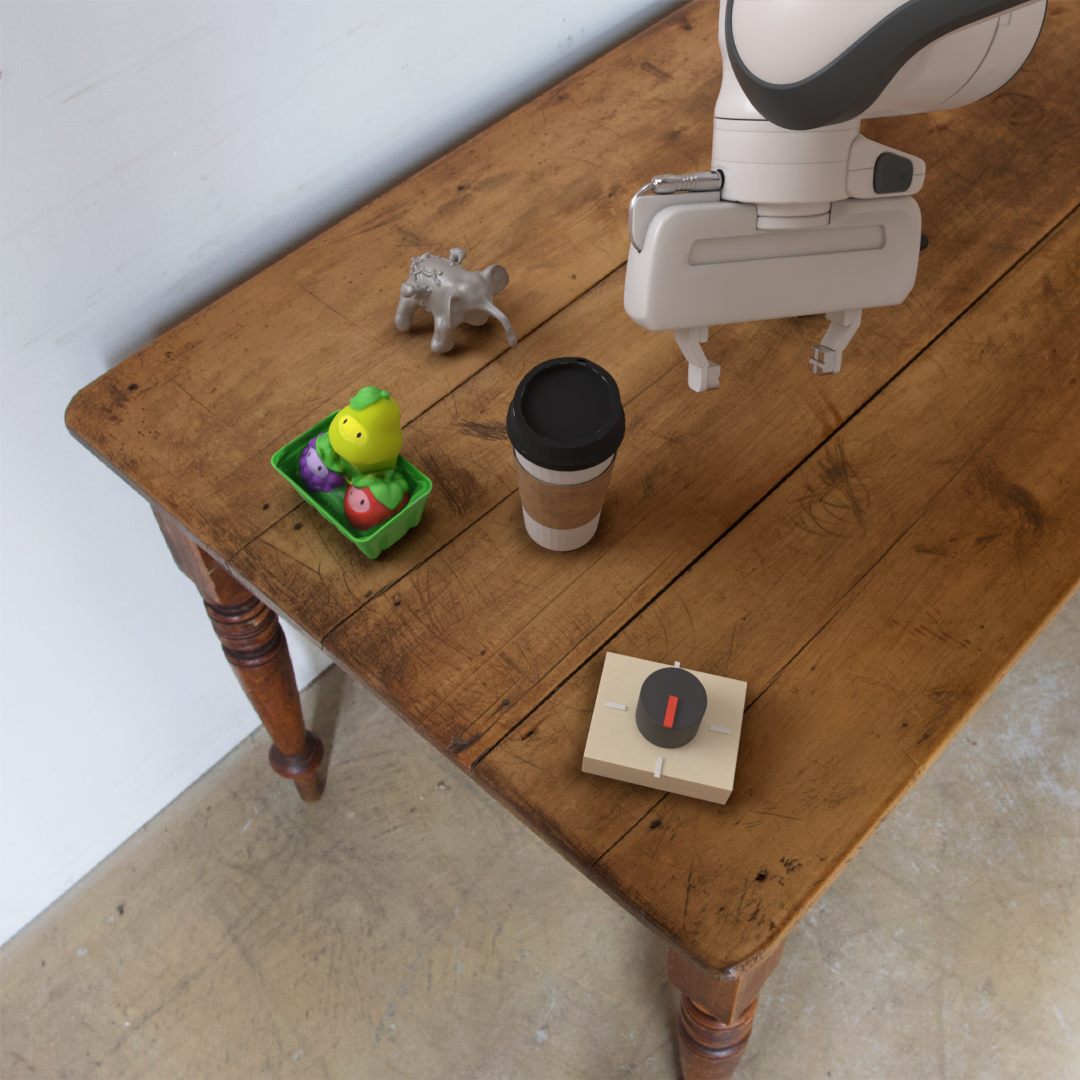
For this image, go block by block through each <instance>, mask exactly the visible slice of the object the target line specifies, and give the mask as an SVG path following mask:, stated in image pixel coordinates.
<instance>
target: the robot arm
mask: <svg viewBox="0 0 1080 1080" xmlns="http://www.w3.org/2000/svg"><path fill="white" fill-rule="evenodd" d="M1048 5H1049V0H719V12H718V30H717V31H718V33H717V40H718V46H719V50H720V55H721V61H722V64H721V65H722V77H721V85H720V90H719V92H718V96H717V99H716V103H715V105H714V111H713V122H712V123H713V124H712V125H713V126H712V143H711V145H712V146H711V161H710V162H711V163H710V170H708V171H696V172H689V173H685V174H674V173H662V174H657V175H655V176H652V177H651V180H650V182H648V183H645V184H643V185H642V186H641V187H640V188H639V189H638V190H636V192H635V193H634V195H633V197H632V198H631V199H630V202H629V206H628V236H629V239H630V246H629V251H628V257H627V262H626V269H625V270H626V272H625V277H624V279H625V280H624V292H623V309H624V312H625V313H626V314H627V316H628V317H629V318H630V319H631V321H633V323H635V324H636V325H638V326H639V327H641V328H643V329H645V330H647V331H650V332H653V333H660V332H666V331H668V332H671V331H673V338H674V341H675V342H676V343H677V345H678V347H679V349H680V351H681V352H682V354H683V356H684V358H685V360H686V362H688V371H687V372H688V373H687V374H688V375H687V384H688V387H689V389H691V391H694V392H696V393H705V392H709V391H716V390H719V388H720V380H719V378H720V377H721V369H722V368H721V367H722V366H721V365H720V364H718V363H716V362H713V360H710V359H709V358H707V357H706V355H705V352H704V350H703V348H702V346H701V344H703V343H704V344H705V343H707V342H708V341H709V330H710V329H709V328H710V327H712V326H723V325H731V324H740V323H749V322H757V321H767V320H768V321H769V320H775V319H786V318H792V317H797V316H800V317H803V316H810V315H812V316H813V315H820V314H825V319H826V320H828V321H830V324H829V326H828V327H827V330H826V331H825V334H824V335H823V337H822V339H821V340H820V343H819V344H817V345H810V346H809V354H808V356H809V358H810V359H809V360H808V364H807V368H808V371H809V372H810V373H811V374H814V375H816V376H817V377H822V376H831V375H837V374H839V373H840V371H841V367H842V359H843V351H844V350H845V349H847V346H848V345H849V343H850V342H851V340H852V339H853V337H854V335H855V334H856V333H857V331H858V329H859V327H860V326H861V324H862V323H861V322H862V316H863V310H864V309H873V308H882V307H890V306H891V307H892V306H898V305H901V304H902V303H903V302H904V301H905V300H906V298H907V297H908V296H909V294H910V293H911V292H912V290H913V288H914V286H915V282H916V279H917V273H918V266H919V258H920V252H919V251H920V241H921V234H922V214H921V213H922V212H921V208H920V205H919V203H918V202H917V201H916V199H914V197H912V196H911V195H916V194H917V193H919V192H920V191H921V190H922V188H923V185H924V183H925V178H926V172H927V170H926V169H927V167H926V162H925V161H924V160H923V159H922V158H920V157H918V156H915V155H913V154H910V153H907V152H904V151H901V150H898V149H896V148H893V147H890V146H887V145H885V144H882V143H879V142H877V141H874V140H872V139H869V138H867V137H866V138H863V137H861V135H859V133H860V134H861V132H860V131H861V124H862V120H866V119H876V118H877V119H879V118H887V117H896V116H897V117H898V116H909V115H915V114H925V113H927V114H928V113H935V112H937V113H938V112H944V111H950V110H951V111H952V110H953V109H954V110H956V109H958V108H962V107H964V106H967V105H970V104H973V103H976V102H978V101H981V100H983V99H986V98H988V97H990V96H992V95H994V94H995V93H997V92H998V91H999V90H1001V89H1002V88H1004V87H1005V86H1006V85H1007V84H1008V83H1010V81H1012V80H1013V78H1014V77H1015V76H1016V75H1017V74H1018V73H1019V72H1020V70H1021V69H1022V68H1023V67H1024V66H1025V64H1026V62H1027V61H1028V59H1029V58H1030V56H1031V55H1032V53H1033V51H1034V49H1035V48H1036V45H1037V43H1038V41H1039V39H1040V36H1041V33H1042V31H1043V27H1044V24H1045V21H1046V17H1047V11H1048ZM648 191H651V192H652V193H648V194H646V193H647V192H648ZM700 343H701V344H700Z"/></svg>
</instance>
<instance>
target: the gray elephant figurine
mask: <svg viewBox="0 0 1080 1080" xmlns="http://www.w3.org/2000/svg"><path fill="white" fill-rule="evenodd" d="M467 255H468V254H467V251H466V250H464V249H462V248H461V247H458V246H457V247H452V248H450V249H449V257H448V258H446V257H445V256H444V257H442V255H440V254H438V255H434V254H431V252H429V251H426V252H425V253H423V254H422V255H418V256H417V257H416V256H412V257H411V258H410V259H411V261H412V262H411V264H410V270H409V272H408V275H409V277H408V279H406V281H405V282H402V283H401V285H400V291H399V292H400V294H399V301H398V304H397V309H396V313H395V316H394V323H395V327H396V328H397V330H399V331H400V332H402V333H406V332H407V331H409V330H410V329H411V327H412V325H413V321H414V320H413V319H414V316H415V314H416V312H417V310H419V308H420V309H425V311H426V312H428V313H431V315H432V316H433V320H434V324H433V325H434V328H433V329H434V331H433V334H432V338H431V341H430V345H429V347H430V350H431V352H433V353H434V354H445V353H448V352H450V351H451V350H453V348H454V345H455V343H454V339H453V337H454V335H455V333H456V330H457V328H458V326H459V325H460V324H463V323H464V324H465V323H466V324H469V325H471V326H475V327H480V326H483V325H485V324H486V323H487V322H488V319H489V318H490V316H491V317H493V318H495V319H496V320H497V321H499V323H500V324H501V325H502V326H503V329H504V331H505V334H506V341H507V343H508V346H509V347H510V348H515V347H516V346H517V344H518V337H517V335H516V334H515V333H516V332H515V329H514V326H513V325H512V323H511V321H510V319H509V317H508V316H507V315H506V314H505V313H504V312H503V311H502V310H501V309H500V308H498V307H497V306H496V305H495V303H494V297H497V296H498V295H501V294H502V293H503V291H504V290H505V289H506V288H507V287H508V285H509V283H510V276H509V272H508V271H507V268H505V267H504V266H503V265H501V264H498V263H496V264H495V263H494V264H491V265H488V266H487V267H485V268H484V269H483V270H475V271H469V270H467V269H465V268H464V267H463V265H462V262H463V260H465V259H466V258H467Z"/></svg>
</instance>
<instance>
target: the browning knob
mask: <svg viewBox="0 0 1080 1080" xmlns="http://www.w3.org/2000/svg"><path fill="white" fill-rule="evenodd" d="M681 668H682V667H680V668H676V667H667V668H662V669H659V670H657V671H655V672H653V673H651V674H650V675H649V676H648V677H647V678H646V679H645V681H644V682H643V685H642V687H641V690H640V695H639V699H638V703H637V708H636V713H635V719H636V724H637V727H638V729H639V731H640V733H641V734H642V735H643V737H644V738H645V739H646V740H648V741H649V742H650V743H652V744H654V745H656V746H659V747H662V748H678V747H681V746H684V745H686V744H687V743H689V742H690V741H691V740H692V739H693V738H694V737H695V735H696V734H697V732H698V729H699V727H700V724H701V721H702V719H703V716H704V714H705V711H706V708H707V694H706V691H705V688H704V686H703V685H702V683H701V682H700V680H699V679H698V678H697V677H696V676H694V675H693V674H692V673H690V672H688V671H686V670H684V669H681Z"/></svg>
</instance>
